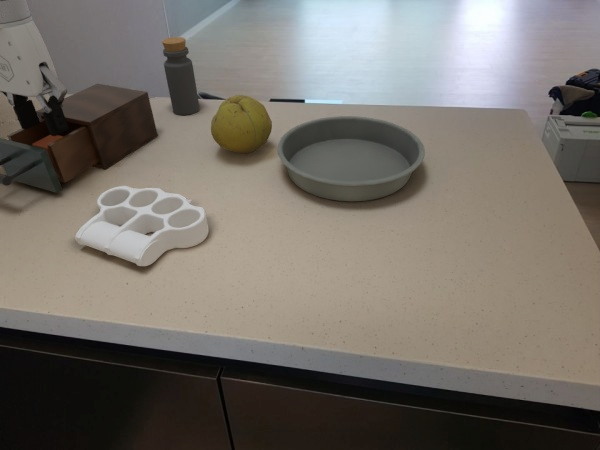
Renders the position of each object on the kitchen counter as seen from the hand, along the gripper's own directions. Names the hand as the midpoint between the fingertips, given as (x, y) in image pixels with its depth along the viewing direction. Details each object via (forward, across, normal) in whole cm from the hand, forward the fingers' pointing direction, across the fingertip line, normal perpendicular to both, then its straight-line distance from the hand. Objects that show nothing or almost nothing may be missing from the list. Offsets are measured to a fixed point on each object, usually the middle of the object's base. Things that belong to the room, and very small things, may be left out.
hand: (45, 128), depth 75 cm
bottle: (+9, +4, +31) cm, 33 cm away
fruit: (+9, +26, +20) cm, 33 cm away
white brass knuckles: (+9, +25, -7) cm, 28 cm away
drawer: (+8, 0, -2) cm, 8 cm away
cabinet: (+9, 0, +11) cm, 14 cm away
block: (+7, 0, 0) cm, 7 cm away
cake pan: (+9, +46, +21) cm, 51 cm away
